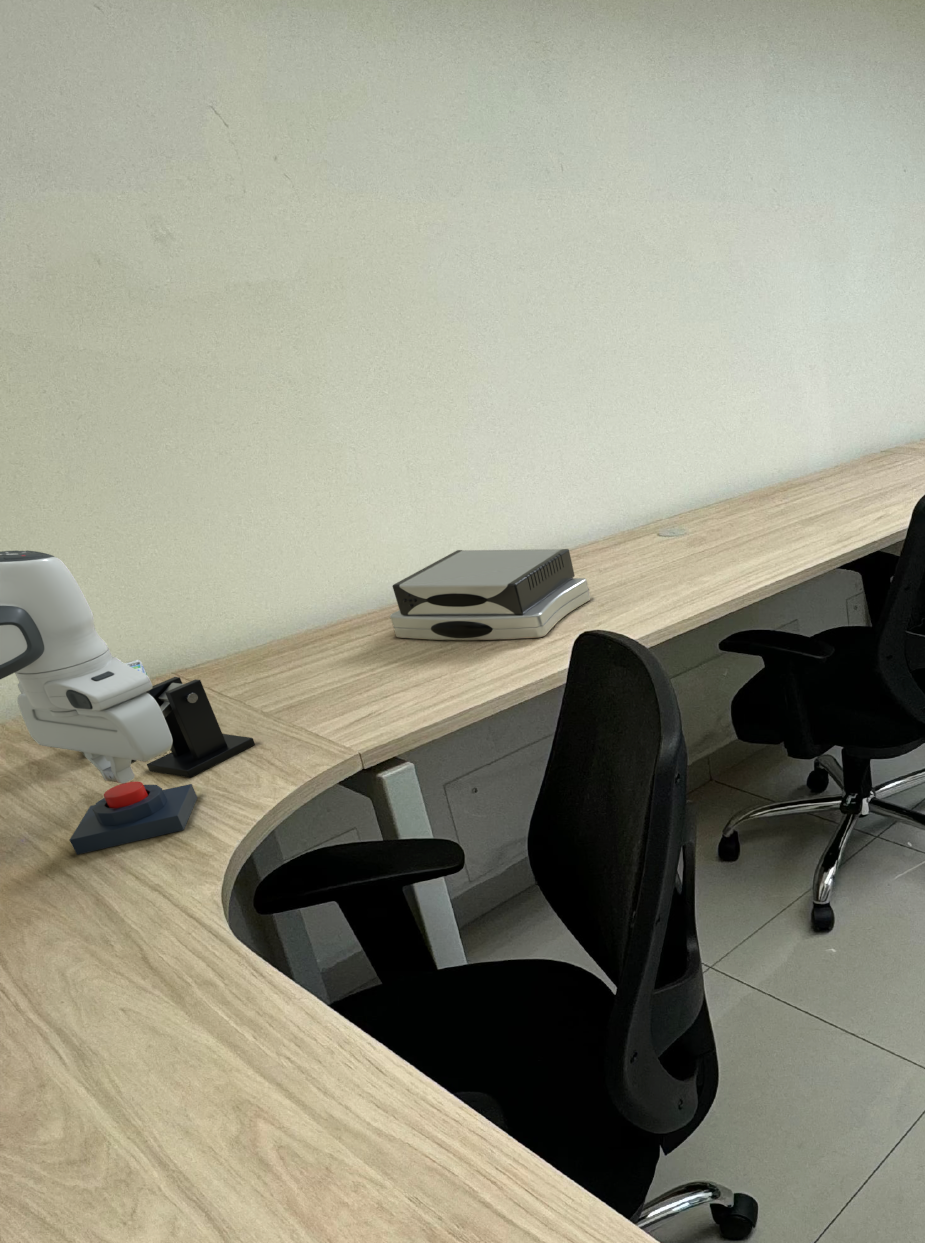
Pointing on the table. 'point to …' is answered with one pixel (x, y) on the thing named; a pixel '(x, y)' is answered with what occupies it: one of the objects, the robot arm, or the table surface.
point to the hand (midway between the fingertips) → (120, 780)
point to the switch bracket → (193, 732)
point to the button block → (134, 819)
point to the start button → (125, 794)
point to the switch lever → (165, 703)
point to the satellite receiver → (488, 595)
